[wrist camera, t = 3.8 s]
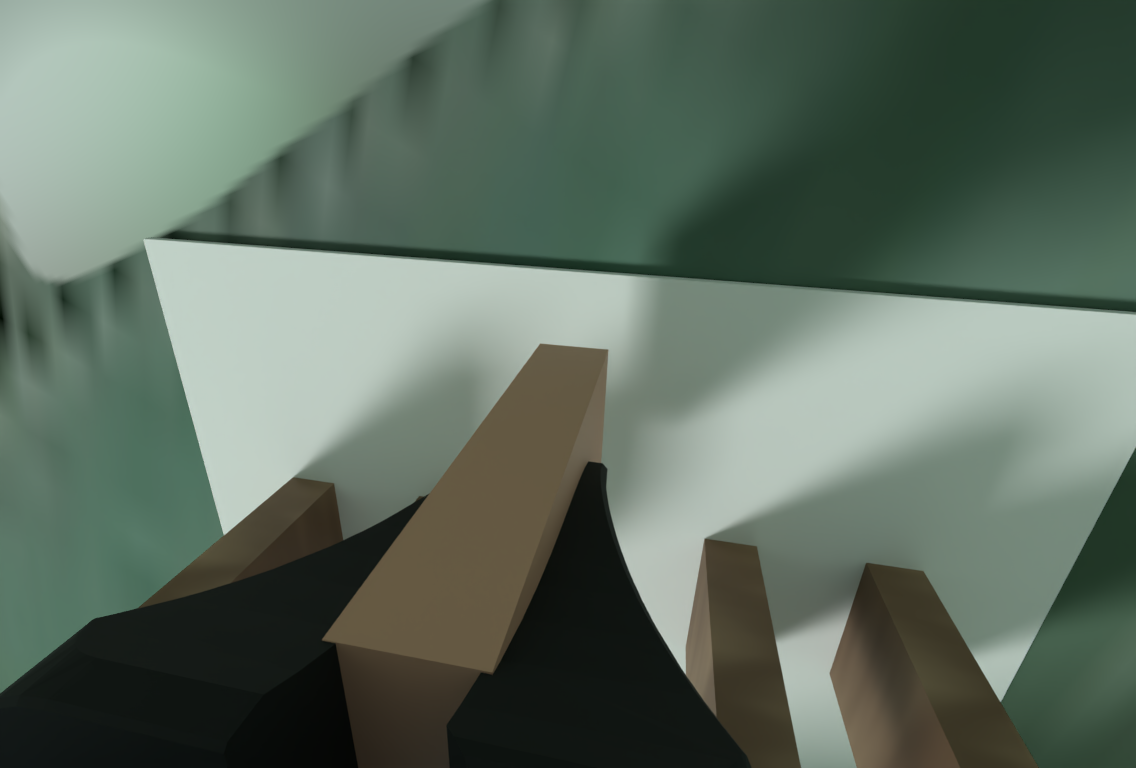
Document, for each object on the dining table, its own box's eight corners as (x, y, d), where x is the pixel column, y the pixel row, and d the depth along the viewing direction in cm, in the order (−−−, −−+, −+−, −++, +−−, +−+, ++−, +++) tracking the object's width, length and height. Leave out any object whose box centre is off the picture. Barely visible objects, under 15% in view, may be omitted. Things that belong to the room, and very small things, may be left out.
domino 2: (608, 349, 12) (492, 671, 5) (597, 521, 14) (502, 954, 6) (540, 343, 13) (323, 638, 5) (538, 512, 14) (378, 919, 7)
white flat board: (1191, 316, 13) (1203, 319, 12) (920, 838, 21) (923, 847, 21) (152, 237, 17) (143, 238, 17) (273, 696, 25) (269, 701, 25)
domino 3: (756, 546, 17) (823, 877, 9) (732, 656, 19) (769, 1006, 11) (704, 538, 17) (726, 854, 9) (685, 647, 19) (690, 984, 11)
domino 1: (334, 483, 19) (101, 707, 11) (351, 586, 21) (162, 838, 13) (292, 477, 19) (38, 692, 12) (313, 580, 21) (106, 823, 14)
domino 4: (923, 571, 16) (1148, 954, 8) (880, 682, 18) (1030, 1077, 10) (866, 562, 16) (1033, 927, 9) (829, 673, 18) (939, 1052, 11)
